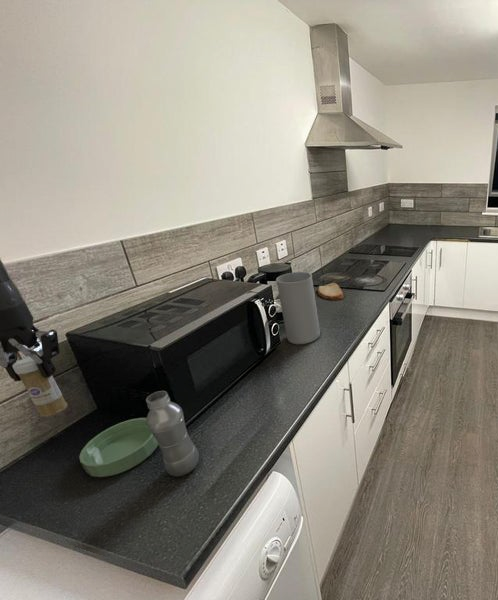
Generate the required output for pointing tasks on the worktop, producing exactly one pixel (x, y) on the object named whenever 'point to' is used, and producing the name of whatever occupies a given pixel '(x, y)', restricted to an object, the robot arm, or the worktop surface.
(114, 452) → the bowl
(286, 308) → the cylinder vase
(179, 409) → the plastic bottle
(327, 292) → the slice of bread
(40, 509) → the worktop surface
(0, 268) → the robot arm
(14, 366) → the sprinkles bottle
